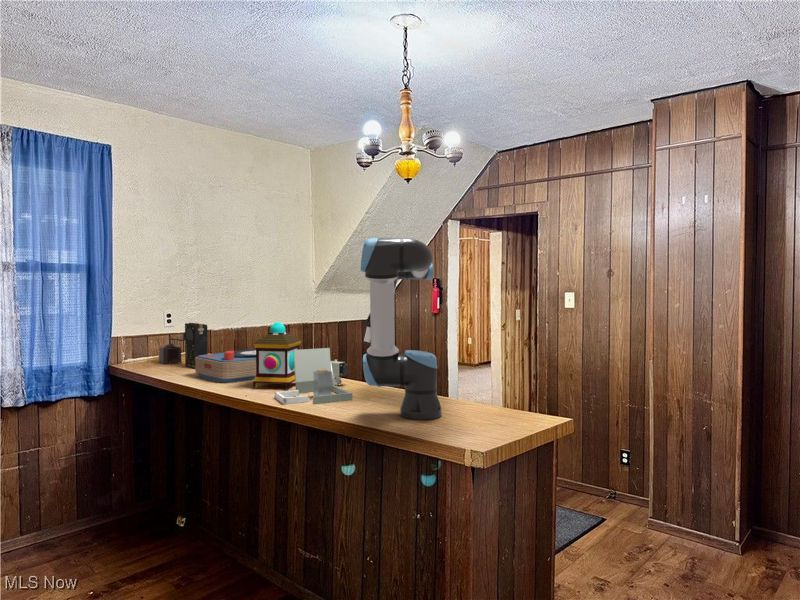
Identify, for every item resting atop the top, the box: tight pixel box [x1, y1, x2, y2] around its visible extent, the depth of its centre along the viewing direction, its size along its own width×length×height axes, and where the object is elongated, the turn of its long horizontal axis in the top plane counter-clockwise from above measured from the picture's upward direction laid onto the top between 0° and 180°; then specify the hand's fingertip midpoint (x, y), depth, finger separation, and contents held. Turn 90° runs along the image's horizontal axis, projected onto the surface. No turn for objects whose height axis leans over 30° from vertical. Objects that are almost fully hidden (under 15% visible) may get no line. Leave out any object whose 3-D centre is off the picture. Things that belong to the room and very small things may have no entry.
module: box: [313, 369, 333, 396], centre depth 236 cm, size 6×6×11 cm
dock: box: [274, 389, 309, 406], centre depth 230 cm, size 14×10×2 cm
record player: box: [195, 348, 256, 384], centre depth 293 cm, size 44×36×15 cm
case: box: [293, 347, 353, 405], centre depth 237 cm, size 27×18×19 cm, turn 27°
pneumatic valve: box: [330, 359, 349, 386], centre depth 263 cm, size 6×12×12 cm, turn 60°
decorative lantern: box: [252, 321, 302, 391], centre depth 260 cm, size 20×20×30 cm
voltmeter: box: [184, 322, 209, 370], centre depth 317 cm, size 16×9×25 cm, turn 43°
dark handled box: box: [158, 332, 186, 365], centre depth 336 cm, size 16×11×18 cm
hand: (373, 343), depth 240 cm, fingers open, 13 cm apart
